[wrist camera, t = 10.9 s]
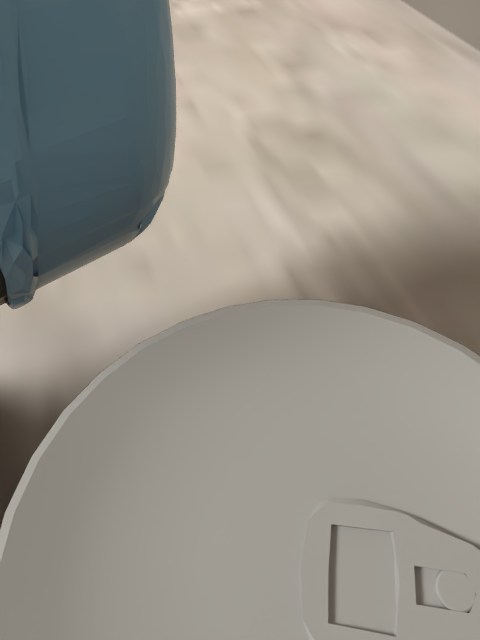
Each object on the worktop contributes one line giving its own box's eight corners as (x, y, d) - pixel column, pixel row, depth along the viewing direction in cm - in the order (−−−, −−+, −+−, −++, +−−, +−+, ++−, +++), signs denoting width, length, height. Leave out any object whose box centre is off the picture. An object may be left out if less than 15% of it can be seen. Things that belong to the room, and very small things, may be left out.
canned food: (447, 702, 13) (951, 1066, 3) (175, 744, 13) (-132, 1236, 3) (372, 441, 17) (495, 258, 7) (164, 472, 17) (15, 331, 7)
